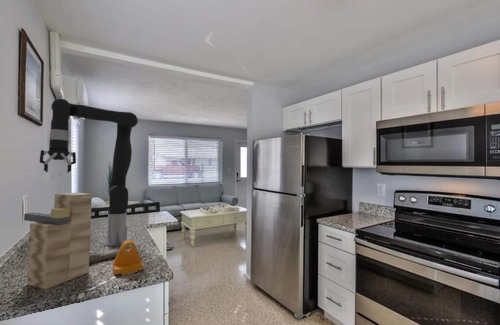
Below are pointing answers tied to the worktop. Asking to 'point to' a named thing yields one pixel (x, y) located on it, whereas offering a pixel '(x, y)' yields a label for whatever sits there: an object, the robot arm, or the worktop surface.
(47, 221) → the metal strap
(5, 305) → the worktop surface
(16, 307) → the worktop surface
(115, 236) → the robot arm
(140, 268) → the bracket
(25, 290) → the worktop surface
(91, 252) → the long grey stone
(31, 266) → the block
